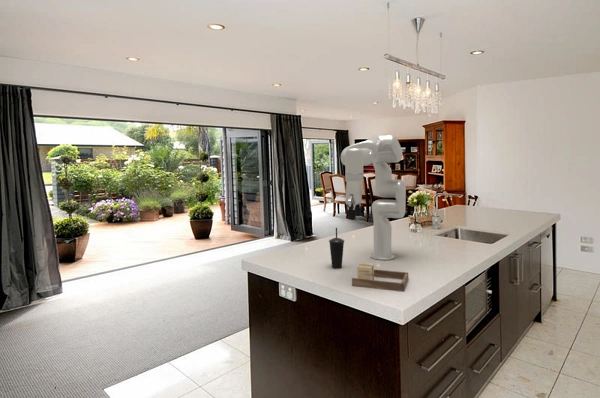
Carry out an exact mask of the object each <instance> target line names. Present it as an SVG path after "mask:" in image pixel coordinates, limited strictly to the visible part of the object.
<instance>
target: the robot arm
mask: <svg viewBox="0 0 600 398" xmlns="http://www.w3.org/2000/svg"><path fill="white" fill-rule="evenodd" d="M402 158H403V150H402V147H401V144H400V142H399V140H398V138H397V137H396V136H395V135H394V134H392V133H390V134H376V135H372V136H371V137H368V139H366V140H365V141H361V142H360V141H359V142H357V143H354V144H351V145H349V146H346V147H345V148H344V149H343V150H342V152H341V153H340V161H341V163H342V165H343V166H344V167H345V174H344V175H345V182H346V186H345V204H346V205H347V220H350V221H351V220H356V218H357V217H361V216H362V204H361V203H362V199H363V195H362V191H363V190H362V189H363V188H362V182H364V166H365V167H366V166H370V165H373V169H374V171H375V178H374V183H375V184H374V191H375V195H376V196H377V197H381V198H395V199H377V200H375V201H373V202H372V203H371V213H372V217H373V218H372V220H373V221H372V222H373V253H371V254H370V257H371V258H372V259H373V260H378V261H389V260H393V259H395V255H394V254H393V253H392V235H393V234H392V229H393V228H392V224H391V222H390V220H389V218H390V219H391V218H392V219H403V218H404V216H405V214H406V201H407V200H406V197H407V196H406V195H407V193H406V191H407V189H406V187H407V186H406V183H405V182H404V181H403V180H402V179H393V178H392V175H393V174H392V168H391V167H390V166H389V164H390V163H399V162H400V161H402ZM388 163H389V164H388Z"/></svg>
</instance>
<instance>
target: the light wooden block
mask: <svg viewBox="0 0 600 398" xmlns="http://www.w3.org/2000/svg"><path fill="white" fill-rule="evenodd" d="M374 269H375V264H374V263H365V262H360V263H359V264H358V265H357V270H356V271H357V272H356V273H357V274H356V278H358V279H368V280H375V277H374Z"/></svg>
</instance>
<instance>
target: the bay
mask: <svg viewBox="0 0 600 398" xmlns="http://www.w3.org/2000/svg"><path fill="white" fill-rule="evenodd" d="M375 277H376V278H386V279H392V280H393V279H394V280H395V279H396V280H401V282H396V281H386V280H375V279H374V280H368V279H358V278H357V277H351V285H352V286H351V287H361V288H369V289H378V290H387V291H388V290H389V291H397V292H405V290H406V287H407V283H408V280H409V272H406V271H397V270H396V271H395V270H384V269H383V270H382V269H375V268H374V278H375Z"/></svg>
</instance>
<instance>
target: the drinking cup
mask: <svg viewBox="0 0 600 398" xmlns="http://www.w3.org/2000/svg"><path fill="white" fill-rule="evenodd" d="M328 242H329V249H330V251H329V252H330V259H331V268H332V269H337V270H338V269H342V267H343V255H344V243H345V240H344V239H343V238H340V237H338V227H335V237H333V238H331V239H329V240H328Z"/></svg>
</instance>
